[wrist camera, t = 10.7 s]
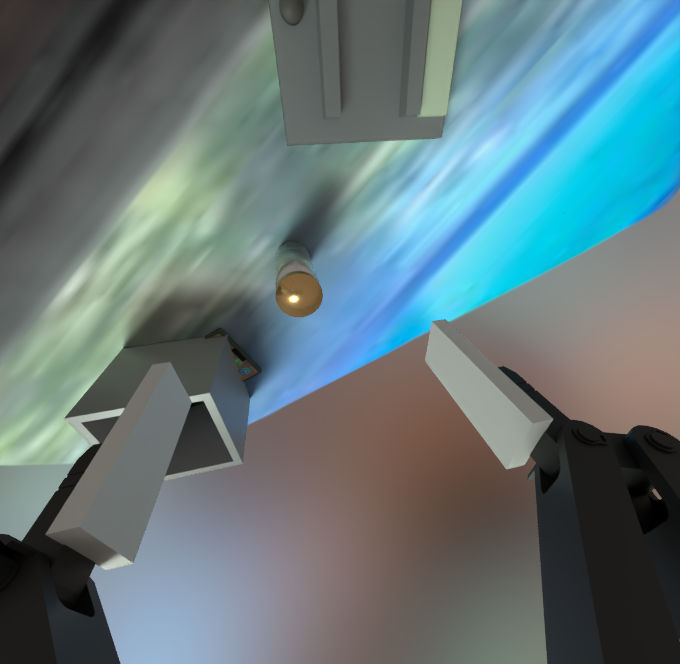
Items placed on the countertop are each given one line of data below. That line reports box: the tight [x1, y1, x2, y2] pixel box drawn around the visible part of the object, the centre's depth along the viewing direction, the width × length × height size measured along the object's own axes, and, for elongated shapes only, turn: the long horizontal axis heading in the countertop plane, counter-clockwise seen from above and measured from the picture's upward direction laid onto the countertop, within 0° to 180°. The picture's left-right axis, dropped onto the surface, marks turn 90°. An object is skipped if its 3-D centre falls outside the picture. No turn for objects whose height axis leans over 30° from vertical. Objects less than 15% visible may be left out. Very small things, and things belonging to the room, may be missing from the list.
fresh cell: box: [276, 242, 323, 317], centre depth 24 cm, size 4×4×10 cm
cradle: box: [269, 0, 462, 146], centre depth 20 cm, size 14×10×3 cm
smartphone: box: [190, 328, 261, 407], centre depth 34 cm, size 8×15×1 cm, turn 116°
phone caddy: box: [64, 333, 250, 481], centre depth 30 cm, size 12×12×10 cm
